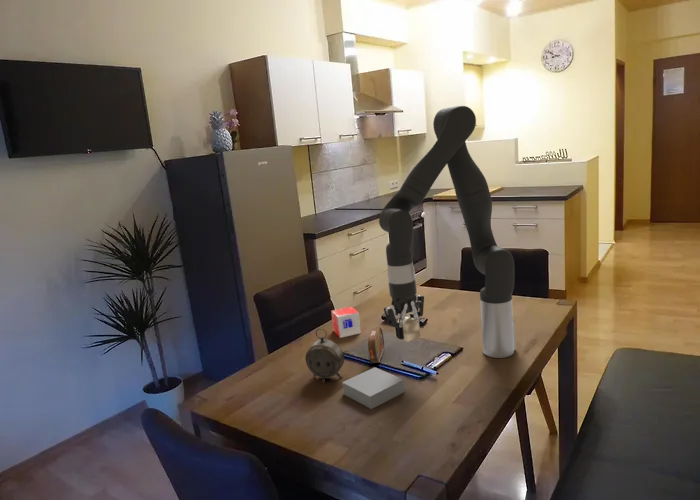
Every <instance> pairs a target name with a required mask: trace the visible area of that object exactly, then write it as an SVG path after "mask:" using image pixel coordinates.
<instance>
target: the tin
mask: <svg viewBox="0 0 700 500" xmlns="http://www.w3.org/2000/svg"><path fill="white" fill-rule="evenodd" d="M383 348H384V349H385V340H384V333H383V329H382V327H381V326H380V327H374V328H372V329H371V332H370V333H369V336H368V339H367V350H368V356H369V360H370V363H372V364H380V363H379V358H380V355H381V352H382V349H383Z"/></svg>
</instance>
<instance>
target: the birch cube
mask: <svg viewBox="0 0 700 500" xmlns="http://www.w3.org/2000/svg"><path fill="white" fill-rule="evenodd" d="M419 321H420V320H419V319H415V318H411V317H409V315H408V316H406V315H405V319H404V320H403V326H402V327H403V333H404V339H402V340H401V339H399V340H401V341H404V342H407V343H409V342H410V341H412V340H415V339H417V338H419V337H421V331H420V330H421V329H420V322H419ZM398 323H399V319H398ZM393 328H394V329H395V327H393ZM394 335H395V338H396V339H398V338H397V337H396V331H395V330H394Z"/></svg>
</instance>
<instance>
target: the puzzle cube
mask: <svg viewBox="0 0 700 500" xmlns="http://www.w3.org/2000/svg"><path fill="white" fill-rule="evenodd" d="M330 311H331V321H332V328H333V329H332V330H333V332H334V333H335V334H336V335H337V336H338V338H346V337H350V336H353V335H359V334H361V332H362V331H361V324H360V323H361V321H360V313H359V311H358V310H356V309H355V308H354V307H353V306H347V307H341V308H338V309H333V310H330Z"/></svg>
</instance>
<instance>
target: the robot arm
mask: <svg viewBox="0 0 700 500" xmlns="http://www.w3.org/2000/svg"><path fill="white" fill-rule="evenodd" d="M432 125H433V131H434V134H435V137H436V139H437V140H436V142H435V143H433V146H432V147H431V148H430V149H429V150H428V152H427V153H426V154H425V155H423V157H422V158H421V159H420V160H419V161H418V162H417V163H416V164H415V166H414V167H413V168H412V169H411V171H410V172H409V173H408V175H407V177H406V179H405V180H404V181H403V183H402V185H401V187H400V189H399V190H398V192H396V193H395V195H393V197H392V198H390V200H389V201H388V202H387V203H386V205H384V207H383V208H382V210H381V212H380V215H379V218H378V224H379V226H380V228H381V230H383V231H384V232H387V233H389V243H388V244H387V245H386V247H385V254H386V255H385V256H386V262H387V263H386V264H387V281H388V289H389V295H390V297H391V303H390V304H391V305H389V306H388V307H383V311H384V315H385V318H386V321H387V323H388V326H389V327H393V328H394V327H395V328H394V332H395V331H396V337H397V338H396V337H395V338H396V339H397V340H400V339H401V341H403V340H402V339H404V333H403V327H402V326H403V320H404V319H405V316H406V315H408V317H411V318H415V319H418V320H419V319H420V317H422V316H423V315H424V305H425V304H424V303H425V296H424V295H420V294H417V292H418V291H417V283H416V272H415V266H414V263H413V253H412V242H413V235H414V223H413V217H412V215H411V214H410V211H411V210H412V209H414V208H416V207H419V206H420V205H421V204H422V202H423V201H424V199H426V197H427V195H428V193H429V192H430V190H431V188H432V186H433V185H434V184H435V182H436V180H437V179H438V177H439V176H440V174H441V173H442V171H443V170H444V169H445V167H446V166H447V169H448V172H449V175H450V179H451V182H452V184H453V188H454V193H455V195H456V199H457V202H458V205H459V209H460V211H461V215H462V218H463V223H464V224H465V228H466V231H467V234H468V239H469V243H470V249H471V253H472V260H473V264H474V266H475V268H476V270H477V271H478V272H479V273H481V274H483V275H484V276H485V280H484V282H485V283H484V284H485V286H484V287H482V288H481V289H480V290H479V301H480V318H481V320H480V321H481V337H482V339H481V341H482V352H483V354H484V356H487V357H489V358H495V359H496V358H497V359H502V358H508V357H511V356H512V355H514V354H515V350H516V349H517V348H516V328H515V327H516V325H515V324H516V322H515V320H514V317H513V316H514V315H513V313H514V312H513V292H514V290H515V270H516V269H515V260H514V257H513V255H512V252H510V251H509V250H507V249H505V248H502V247H500V246H498V245H497V243H496V240H495V236H494V234H493V230H492V226H491V224H492V212H493V201H492V197H491V195H492V194H491V192H490V188H489V186H488V183H487V182H488V181H487V179H486V177H485V176H484V173H483V172H482V171H481V169H480V168H479V166H478V165H477V164H476V162H475V161H474V160H473V158H472V156H471V154H470V151H469V150H468V146H467V143H466V142H467V140H468V139H469V138H470V137H471V136H472V134H473V133H474V131H475V128H476V125H477V118H476V114H475V112H474V111H473V109H471V107H469V106H466V105H454V106H449V107H444V108H441V109H440V110H439V111H437V112H436V113H435V116H434V118H433V124H432ZM398 319H399V323H398Z"/></svg>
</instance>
